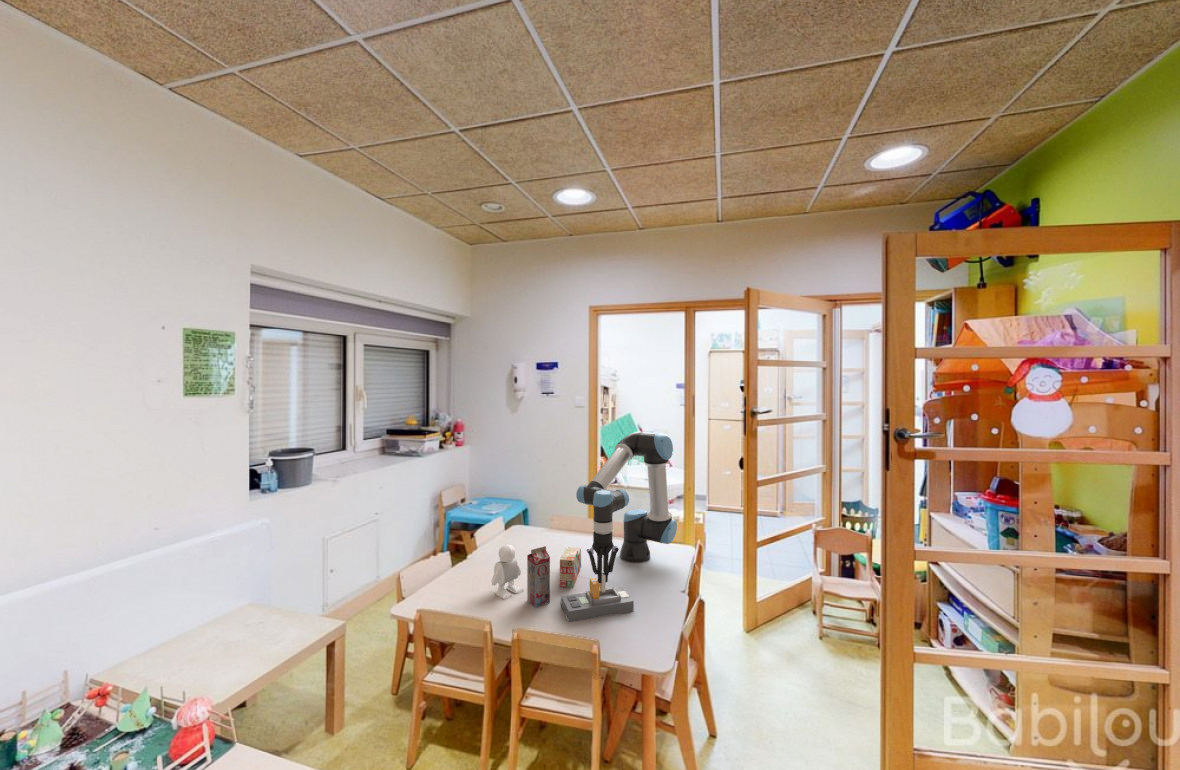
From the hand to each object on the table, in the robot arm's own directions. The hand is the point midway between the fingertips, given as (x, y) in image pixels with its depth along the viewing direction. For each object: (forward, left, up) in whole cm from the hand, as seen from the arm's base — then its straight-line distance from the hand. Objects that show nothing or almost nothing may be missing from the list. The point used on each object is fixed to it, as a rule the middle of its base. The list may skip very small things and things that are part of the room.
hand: (602, 590), depth 179 cm
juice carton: (+23, -12, -7) cm, 27 cm away
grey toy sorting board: (+2, 0, -7) cm, 7 cm away
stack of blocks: (+5, -30, -7) cm, 32 cm away
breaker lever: (+3, 0, -3) cm, 4 cm away
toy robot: (+34, -24, -7) cm, 43 cm away
